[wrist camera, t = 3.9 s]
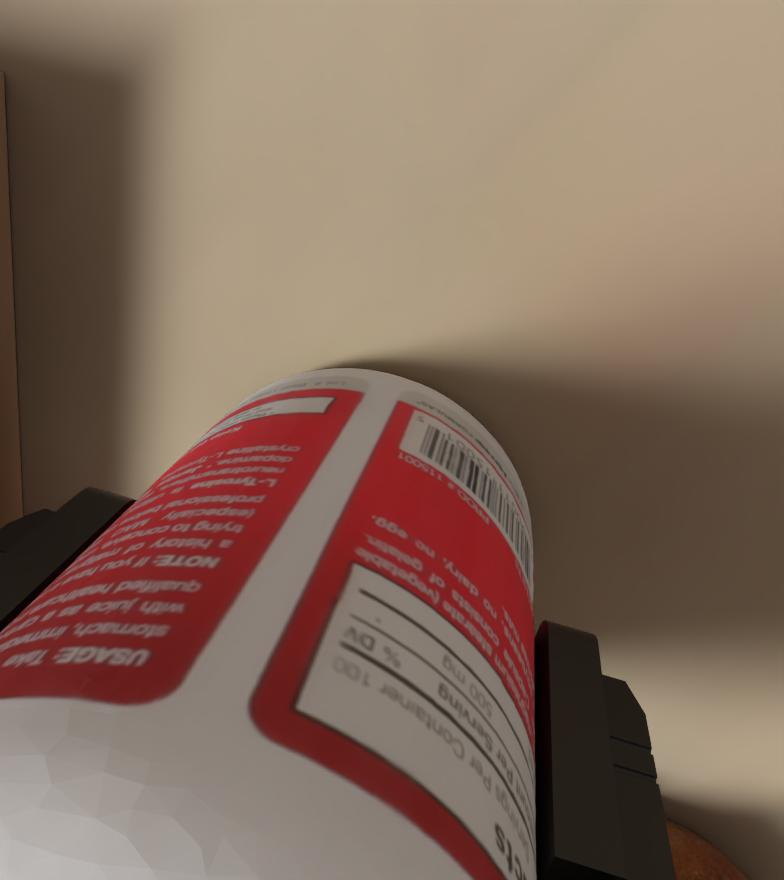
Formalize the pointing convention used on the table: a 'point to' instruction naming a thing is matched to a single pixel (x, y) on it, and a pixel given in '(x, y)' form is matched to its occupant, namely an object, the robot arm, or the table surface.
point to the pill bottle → (287, 658)
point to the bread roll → (698, 857)
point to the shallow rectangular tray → (7, 351)
